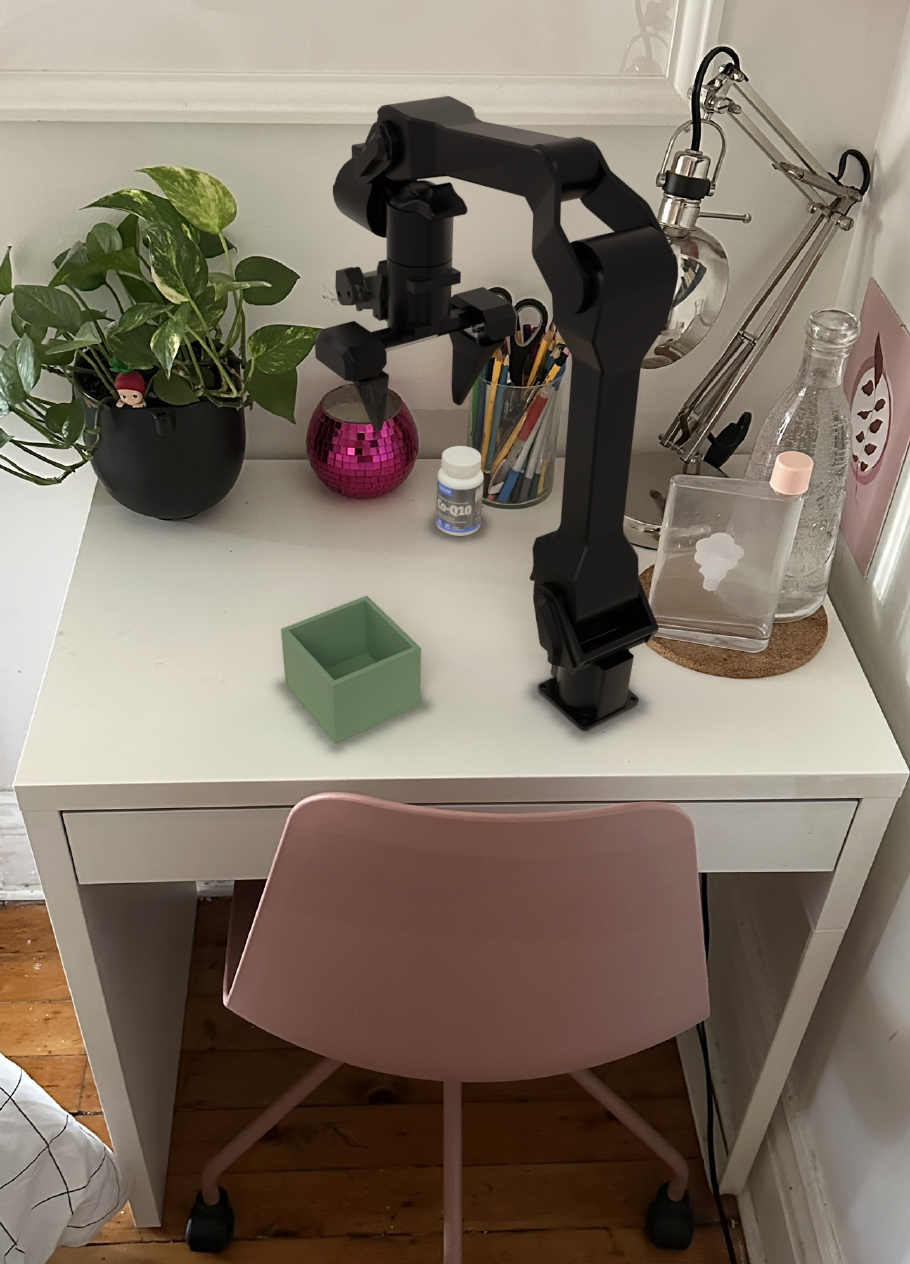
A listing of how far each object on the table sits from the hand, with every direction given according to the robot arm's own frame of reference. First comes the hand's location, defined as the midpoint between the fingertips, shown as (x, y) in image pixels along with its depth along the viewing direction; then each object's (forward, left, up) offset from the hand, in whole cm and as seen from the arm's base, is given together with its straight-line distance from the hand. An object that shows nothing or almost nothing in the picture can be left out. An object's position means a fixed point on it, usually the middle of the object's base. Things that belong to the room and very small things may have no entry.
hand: (417, 416), depth 109 cm
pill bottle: (0, -5, -14) cm, 15 cm away
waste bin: (-17, +18, -14) cm, 28 cm away
